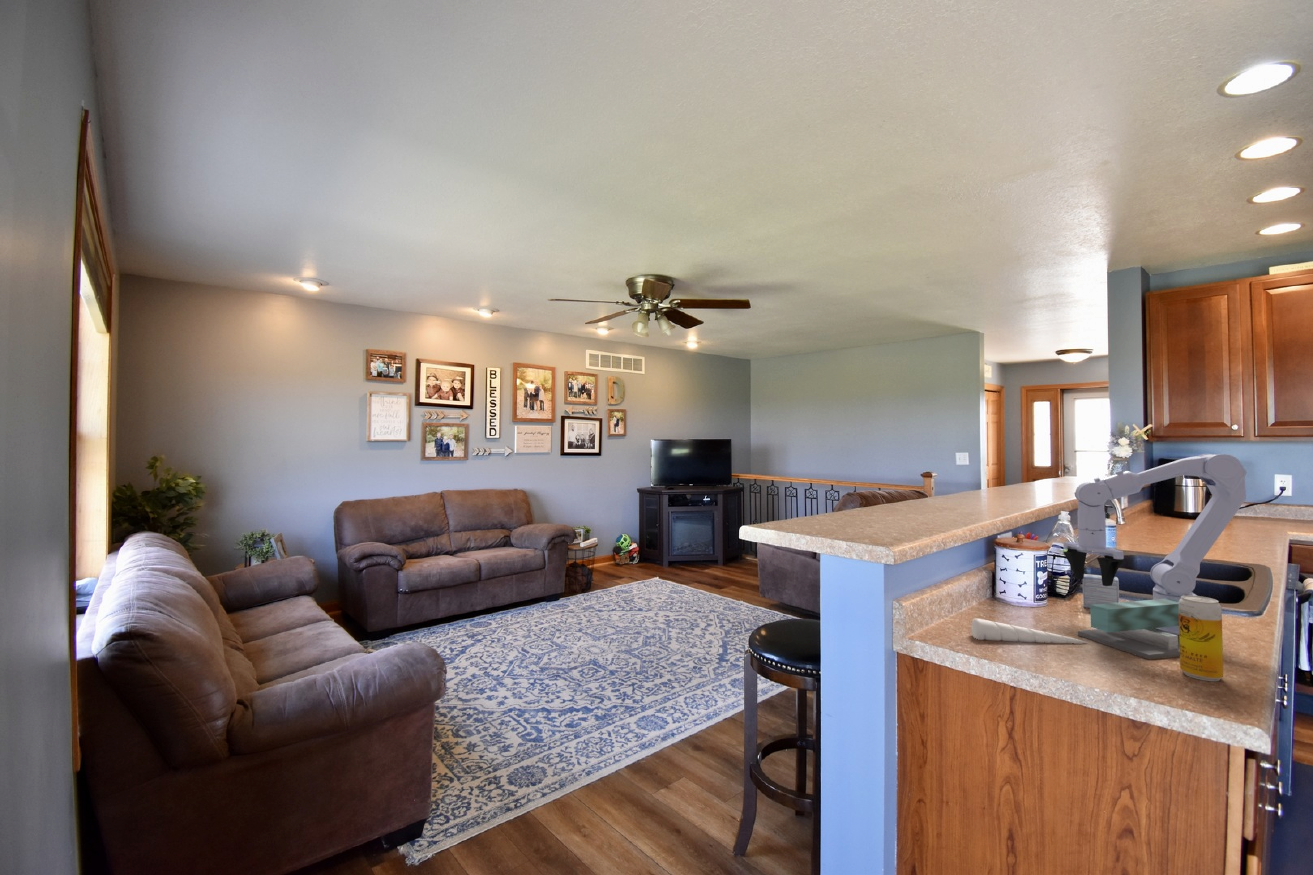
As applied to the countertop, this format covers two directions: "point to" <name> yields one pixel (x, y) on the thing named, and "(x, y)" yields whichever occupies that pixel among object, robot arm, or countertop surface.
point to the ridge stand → (1138, 642)
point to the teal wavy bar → (1135, 615)
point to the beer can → (1201, 637)
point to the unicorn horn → (1015, 633)
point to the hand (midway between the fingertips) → (1092, 582)
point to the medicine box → (1099, 591)
